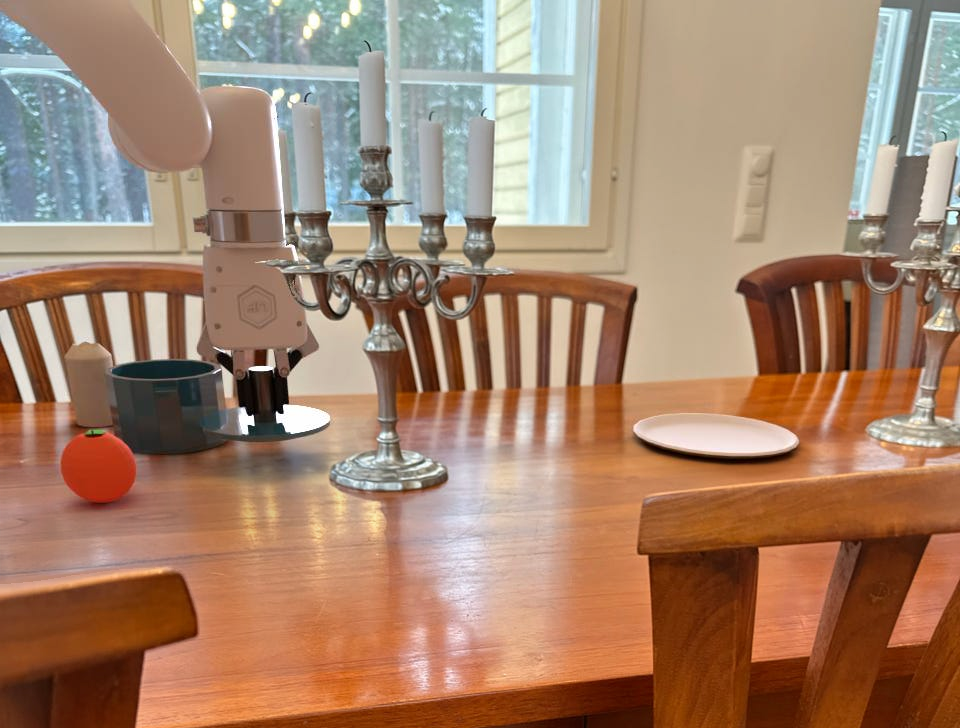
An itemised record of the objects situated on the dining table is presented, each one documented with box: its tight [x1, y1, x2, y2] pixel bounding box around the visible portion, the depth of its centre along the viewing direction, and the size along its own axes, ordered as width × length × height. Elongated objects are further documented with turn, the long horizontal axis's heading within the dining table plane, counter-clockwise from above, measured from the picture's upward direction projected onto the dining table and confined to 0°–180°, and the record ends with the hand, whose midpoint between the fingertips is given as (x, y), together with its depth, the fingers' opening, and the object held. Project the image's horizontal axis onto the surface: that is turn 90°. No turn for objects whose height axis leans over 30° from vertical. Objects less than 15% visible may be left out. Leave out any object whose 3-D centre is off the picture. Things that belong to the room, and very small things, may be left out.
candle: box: [63, 341, 114, 428], centre depth 115 cm, size 6×6×10 cm
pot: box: [104, 358, 228, 455], centre depth 108 cm, size 13×19×8 cm
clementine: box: [60, 429, 138, 504], centre depth 88 cm, size 8×7×7 cm
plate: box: [632, 412, 800, 460], centre depth 115 cm, size 21×21×1 cm
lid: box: [199, 365, 331, 443], centre depth 98 cm, size 14×14×7 cm
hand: (264, 411), depth 99 cm, fingers closed on lid, 2 cm apart
